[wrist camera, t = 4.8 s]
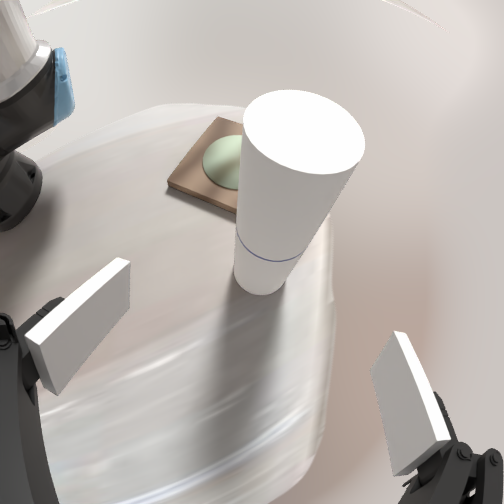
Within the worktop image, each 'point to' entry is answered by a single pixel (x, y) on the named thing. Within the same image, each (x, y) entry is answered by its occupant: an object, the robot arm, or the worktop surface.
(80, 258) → the worktop surface
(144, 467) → the worktop surface
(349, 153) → the cylindrical container
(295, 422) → the worktop surface
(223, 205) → the board
